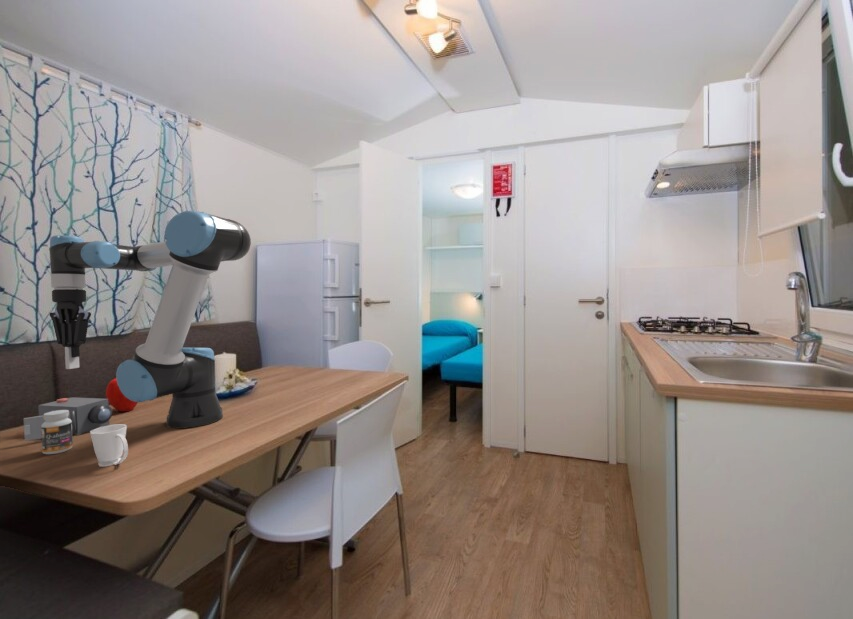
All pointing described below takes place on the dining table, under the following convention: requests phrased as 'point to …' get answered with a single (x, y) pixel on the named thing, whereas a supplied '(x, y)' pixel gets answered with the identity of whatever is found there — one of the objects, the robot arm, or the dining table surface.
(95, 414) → the camera body
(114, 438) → the cup
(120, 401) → the apple
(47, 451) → the pill bottle
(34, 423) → the side door
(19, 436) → the dining table surface
